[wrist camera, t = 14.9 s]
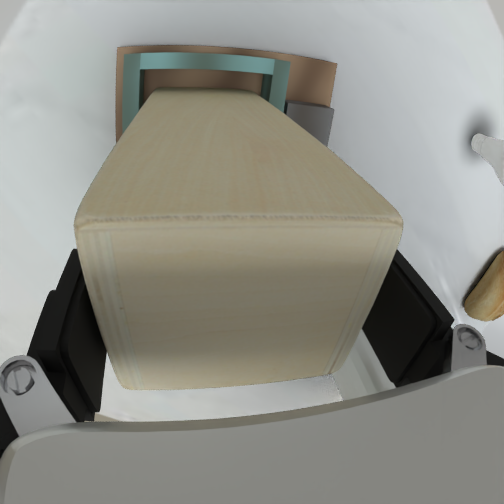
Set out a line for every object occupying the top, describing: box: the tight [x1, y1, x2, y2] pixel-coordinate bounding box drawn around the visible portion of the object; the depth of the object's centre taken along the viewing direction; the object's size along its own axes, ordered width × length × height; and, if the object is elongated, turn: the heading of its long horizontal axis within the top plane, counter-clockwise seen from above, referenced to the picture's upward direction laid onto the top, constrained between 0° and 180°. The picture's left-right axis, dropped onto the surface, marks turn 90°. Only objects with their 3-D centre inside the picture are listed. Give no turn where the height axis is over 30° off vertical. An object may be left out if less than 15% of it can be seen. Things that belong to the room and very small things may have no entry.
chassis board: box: [116, 45, 337, 147], centre depth 25 cm, size 18×14×4 cm
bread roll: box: [464, 251, 504, 321], centre depth 47 cm, size 10×15×8 cm, turn 166°
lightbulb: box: [471, 133, 504, 185], centre depth 28 cm, size 6×6×11 cm
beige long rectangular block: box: [74, 87, 403, 390], centre depth 17 cm, size 8×7×21 cm
